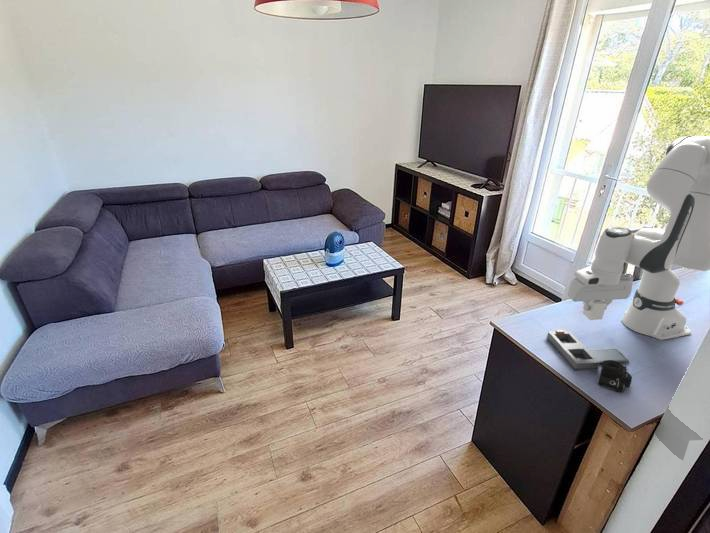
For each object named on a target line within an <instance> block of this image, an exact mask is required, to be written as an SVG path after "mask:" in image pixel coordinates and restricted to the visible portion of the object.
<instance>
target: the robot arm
mask: <svg viewBox="0 0 710 533" xmlns="http://www.w3.org/2000/svg"><path fill="white" fill-rule="evenodd" d="M646 191H647V193H648V195H649V197H650V198H651V199H652V200H654V202H656V203H657V204H659V205H660V206H662V207H663V208H665V209H666V210H667V211H668V212H670V213H669V214H670V216H669V219H668V222H667V224H666V228H665V229H662V228H657V227H642V228H640V229H639V230H636V232H635V233H633V232H632V230H631V229H630V228H627V227H623V226H610V227H607V228H606V229H604V230H603V232H602V233H601V236H600V237H599V240H598V243H597V245H596V249H595V251H594V254H595V257H594V259H593V261H592V263H591V265H589V266H587V267H584V268H581V269H578V270H576V271H574V275H573V276H574V278H573V279H572V280H571V282H570V284H569V287H568V291H567V296H568V298H570V300H571V301H573V302H575V303H577V302H582V303H583V306H582V307H583V311H584V310H585V311H590V310H591V306H589V304H588V303H590V301H597V300H603V301H604V302H605V303H607V304H606V308H605V311H606V310H607V308H608V306H609V305H610V304H612V302H613V300H627V299H628V298H629V297H630V296H631V294H632V289H633V281H634V275H633V274H632V273H630V272H629V273H628V272H627V273H623V272H624V264H629V265H631V266H635V267H637V268H639V269H642V276H641V278H640V282H639V285H638V289H636V290H635V292H634V295H633V299H632V301H631V303H630V304H629V306H628V308H627V310H626V311H624V315H623V316H622V318H621V322H622V324H623V325H624V326H625V327H627V328H628V329H629V330H632V331H634V332H636V333H639V334H642V335H645V336H648V337H652V338H654V339H657V340H660V341H664V340H668V339H673V338H678V337H683V336H688V335H691V334H692V330H691V329H690V328H689V327H688V326H687V325H686V324H687V318H686V316H685V314H684V313H683V312H682V311H680V310H679V308H677V307H676V304H677V306H679V307H681V306H682V305H684V300H682V299H680V298H676V294H677V293H678V290H679V287H680V285H681V281H680V278H679V276H678V275H677V273H675V272H674V271H673V270H672V269H671V267H672V265H674V266H676V267H681V268H684V269H687V270H692V271H700V272H707V271H710V135H700V136H699V135H698V136H691V135H687V136H682V137H678V138H676V139H675V140H674V141H673V142H671V143H670V144H669V146H668V147H667V150H666V152H665V156H664V157H663V159H662V160H661V161H660V162H659V164H658V165H657V166H656V167H655V169H654V171H653V172H652V174H651V176H650V177H649V179H648V181H647V184H646Z"/></svg>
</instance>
